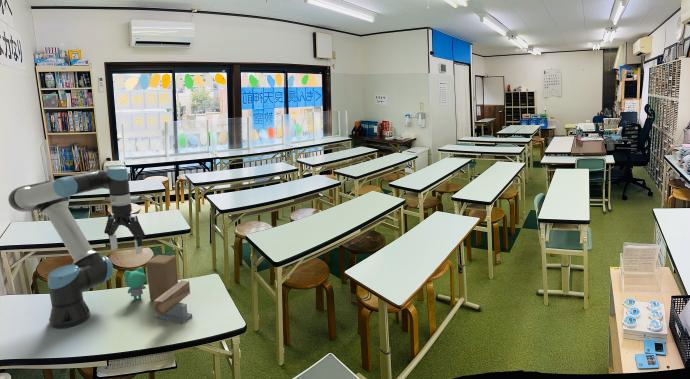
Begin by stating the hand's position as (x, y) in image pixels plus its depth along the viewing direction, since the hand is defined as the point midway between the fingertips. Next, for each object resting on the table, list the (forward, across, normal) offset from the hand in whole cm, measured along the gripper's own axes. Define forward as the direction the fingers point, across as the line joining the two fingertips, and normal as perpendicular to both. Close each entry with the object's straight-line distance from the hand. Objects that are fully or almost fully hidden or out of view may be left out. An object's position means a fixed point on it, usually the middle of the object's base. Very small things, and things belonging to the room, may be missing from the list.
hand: (126, 251), depth 186 cm
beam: (+24, +18, +5) cm, 30 cm away
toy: (+31, -11, +13) cm, 35 cm away
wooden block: (+31, 0, +19) cm, 36 cm away
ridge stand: (+31, +18, +5) cm, 36 cm away
